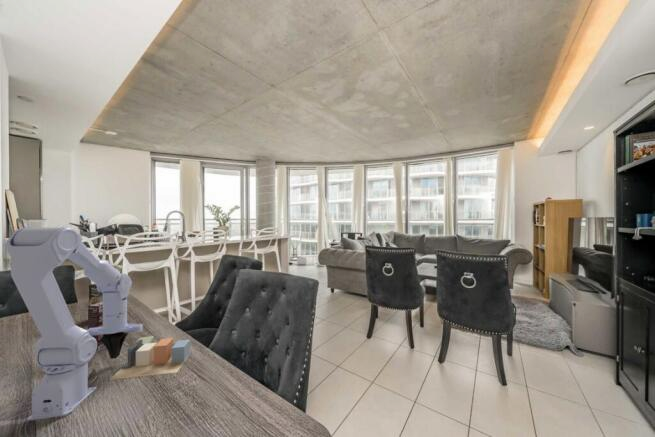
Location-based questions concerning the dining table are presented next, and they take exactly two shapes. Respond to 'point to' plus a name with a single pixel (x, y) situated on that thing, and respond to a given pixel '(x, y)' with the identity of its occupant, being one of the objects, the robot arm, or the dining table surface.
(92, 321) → the supplement box
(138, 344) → the bookend
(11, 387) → the dining table surface
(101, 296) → the coffee box
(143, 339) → the flat book
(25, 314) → the dining table surface
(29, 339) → the dining table surface
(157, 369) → the shelf board
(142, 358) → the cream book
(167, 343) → the terracotta cube
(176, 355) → the blue-grey block
